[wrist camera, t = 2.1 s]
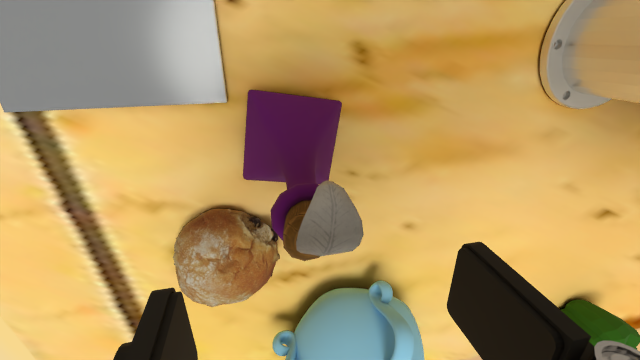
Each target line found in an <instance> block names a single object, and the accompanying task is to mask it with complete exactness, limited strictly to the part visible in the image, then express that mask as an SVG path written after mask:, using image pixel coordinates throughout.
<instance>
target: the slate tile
mask: <svg viewBox="0 0 640 360" xmlns="http://www.w3.org/2000/svg"><path fill="white" fill-rule="evenodd" d="M227 101H228V99H227V91H226V84H225V76H224V69H223V61H222V54H221V46H220V38H219V31H218V23H217V16H216V8H215V1H214V0H0V103H1V105H2V108H3V110H4V112H22V111H45V110H68V109H90V108H113V107H135V106H158V105H181V104H203V103H226V102H227Z"/></svg>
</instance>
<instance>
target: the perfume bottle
mask: <svg viewBox="0 0 640 360" xmlns="http://www.w3.org/2000/svg"><path fill="white" fill-rule="evenodd" d="M341 106H342V103H341V102H340V101H336V100H329V99H321V98H313V97H305V96H298V95H290V94H282V93H274V92H266V91H259V90H249V92H248V101H247V118H246V134H245V151H244V167H243V178H244V179H246V180H259V181H276V182H286V184H287V190H286V191H284V192H283V193H281V194H280V195H279V197H278V199H277V200H276V202H275V204H274V205H273V207H272V209H271V222H272V228H273V230H274V231H275V232H276V233H277V234H278V236H279V237H280V238H281V239H282V240H283V244H284V248H285V250H286V251H287V252H288V253H289V254H290V255H291V257H293V258H297V259H300V260H304V261H306V260H311V259H315V258H319V257H320V256H325V255H331V254H338V253H344V252H349V251H353V250H354V249H355V248H356V247H357V246H359V245H360V242H361V240H362V237H363V227H362V220H361V218H360V216H359V214H358V212H357V210H356V208H355V206H354V204H353V203H352V201H351V199H350V198H349V196H348V194H347V193H346V191H345V190H344V188H342V187H341V186H339V185H337V184H335V183H334V182H331V181H328V180H329V174H330V168H331V163H332V157H333V151H334V146H335V140H336V134H337V129H338V123H339V117H340V112H341ZM319 184H320V185H319Z"/></svg>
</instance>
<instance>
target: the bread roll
mask: <svg viewBox="0 0 640 360" xmlns="http://www.w3.org/2000/svg"><path fill="white" fill-rule="evenodd" d="M176 239H177V240H176V243H175V247H174V248H175V250H174V251H175V253H174V256H173V258H174V262H175V263H174V265H175V266H176V274H177V278H178V283H179V286H180V288H181V290H182V292H183V293H184V294H185V295H186V296H187V297H189V298H190V299H191V300H192V301H194V302H197V303H200V304H205V305H207V306H211V307H214V306H218V305H222V304H231V303H237V302H241V301H244V300H246V299H248V298H249V297H250V296H252V295H253V294H254V293H256V292H257V291H258V290H259V289H260V288H262V287H263V286H264V285H265V284H266V283H267V281H268V280H269V278H270V277H272V273H273V269H274V266H275V264H276V261H277V260H278V259H280V256H279V254H278V251H277V242H276V241H277V240H278V234H277V233H276V232H275V231H274V230H273V228H270V227H269V226H268V225H266V224H265V223H263V222H262V221H260V219H259V218H257V217H252V216H250V215H248V214H247V213H245V212H243V211H237V210H230V209H210V210H209V211H207V212H204V213H202V214H200V215H199V216H198V217H196V218H195V219H193V220H191V221H190V222H188V223H187V224H186V225H185V226H184V227H183V229H182V231H181V232H180V234H179V235H178V237H177V238H176Z"/></svg>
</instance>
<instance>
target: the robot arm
mask: <svg viewBox="0 0 640 360" xmlns="http://www.w3.org/2000/svg"><path fill="white" fill-rule="evenodd" d="M540 76H541V81H542V85H543V87H544V89H545V91H546V93H547V94H548V96H549V97H550V98H551V99H552V100H553V101H555V102H556V103H558V104H559V105H562V106H565V107H569V108H575V109H588V108H592V107H596V106H599V105H601V104H603V103H606V102H608V101H609V100H611V99H617V100H623V101H629V102H635V103H640V0H566V1H565V2H564V3H563V4H562V6H561V7H560V9H559V10H558V12H557V13H556V15H555V17H554V18H553V20H552V22H551V24H550V26H549V29H548V31H547V33H546V36H545V39H544V42H543V46H542V50H541V57H540ZM447 309H448V312H449V314H450V316H451V317H452V318H453V320H454V321H455V323H456V324H457V325H458V327H459V328H460V329H461V331H462V332H463V333H464V335H465V336H466V338H467V339H468V340H469V342H470V343H471V344H472V346H473V347H474V348H475V350H476V351H477V353H478V354H479V355H480V357H481V358H482V359H483V360H640V352H639V351H638V350H636V349H634V348H632V347H630V346H628V345H625V344H623V343H619V342H615V341H601V342H598V343H597V344H596V345H595V346H593V345H592V344H591V343H590V342H589V340H590V338H591V336H590V335H589V334H588V333H587V332H585V331H584V330H583V329H582V328H581V327H580V326H578V325H577V324H576V323H575V322H574V321H573V320H571V319H570V318H569V317H568V316H567V315H566V314H565V313H563V312H562V311H561V310H560V309H559V308H558V307H556V306H555V305H554V304H553V303H552V302H551V301H549V300H548V299H547V298H546V297H545V296H544V295H543V294H541V293H540V292H539V291H538V290H537V289H536V288H534V287H533V286H532V285H531V284H530V283H529V282H527V281H526V280H525V279H524V278H523V277H522V276H521V275H519V274H518V273H517V272H516V271H515V270H514V269H512V268H511V267H510V266H509V265H508V264H507V263H505V262H504V261H503V260H502V259H501V258H500V257H499V256H497V255H496V254H495V253H494V252H493V251H492V250H490V249H489V248H488V247H487V246H486V245H485V244H483V243H482V242H475V243H468V244H464V245H463V246H462V248H461V249H460V250H459V251H458V255H457V259H456V264H455V269H454V273H453V278H452V283H451V287H450V292H449V297H448V301H447ZM113 360H198V356H197V349H196V345H195V341H194V338H193V334H192V330H191V326H190V322H189V318H188V314H187V311H186V307H185V303H184V299H183V295H182V293H181V292H176V291H175V289H174V288H168V289H161V290H155V291H152V292H151V294H150V296H149V299H148V302H147V304H146V307H145V309H144V312H143V315H142V317H141V320H140V322H139V325H138V328H137V330H136V333H135V335H134V338H133V340H132V342H129V343H124V344H122V345H121V346H120V347H119V349H118V351H117V352H116V355H115V357H114V359H113Z"/></svg>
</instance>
